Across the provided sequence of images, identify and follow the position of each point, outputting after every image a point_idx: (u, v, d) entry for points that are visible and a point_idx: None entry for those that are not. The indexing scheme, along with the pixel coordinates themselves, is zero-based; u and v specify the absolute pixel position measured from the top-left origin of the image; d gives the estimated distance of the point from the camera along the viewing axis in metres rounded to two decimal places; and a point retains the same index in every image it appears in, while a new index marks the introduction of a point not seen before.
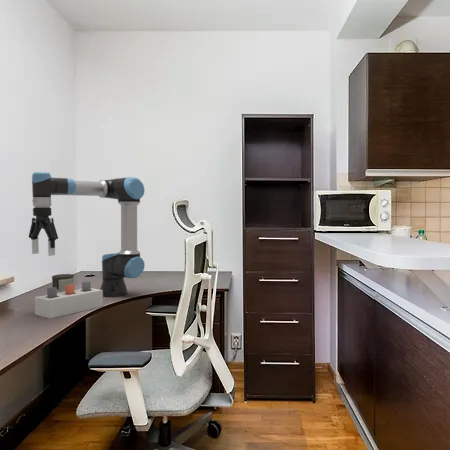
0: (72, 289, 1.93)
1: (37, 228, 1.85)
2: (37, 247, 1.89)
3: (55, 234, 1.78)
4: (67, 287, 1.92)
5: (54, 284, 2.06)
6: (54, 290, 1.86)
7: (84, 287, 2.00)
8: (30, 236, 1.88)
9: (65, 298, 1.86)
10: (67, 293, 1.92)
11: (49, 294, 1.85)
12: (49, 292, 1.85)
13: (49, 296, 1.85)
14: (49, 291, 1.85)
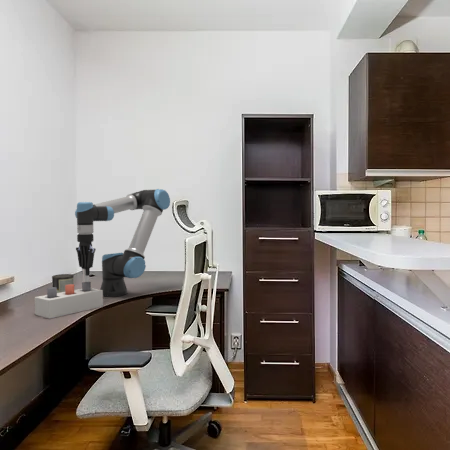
0: (72, 289, 1.93)
1: (83, 254, 2.01)
2: None
3: (91, 264, 1.99)
4: (67, 287, 1.92)
5: (54, 284, 2.06)
6: (54, 290, 1.86)
7: (84, 287, 2.00)
8: (80, 264, 2.02)
9: (65, 298, 1.86)
10: (67, 293, 1.92)
11: (49, 294, 1.85)
12: (49, 292, 1.85)
13: (49, 296, 1.85)
14: (49, 291, 1.85)
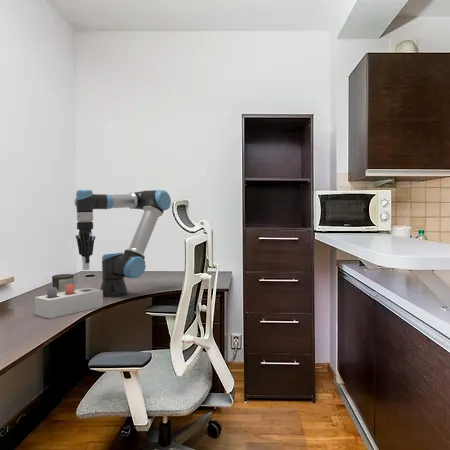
0: (72, 289, 1.93)
1: (83, 242, 2.00)
2: None
3: (91, 251, 1.99)
4: (67, 287, 1.92)
5: (54, 284, 2.06)
6: (54, 290, 1.86)
7: None
8: (80, 252, 2.02)
9: (65, 298, 1.86)
10: (67, 293, 1.92)
11: (49, 294, 1.85)
12: (49, 292, 1.85)
13: (49, 296, 1.85)
14: (49, 291, 1.85)
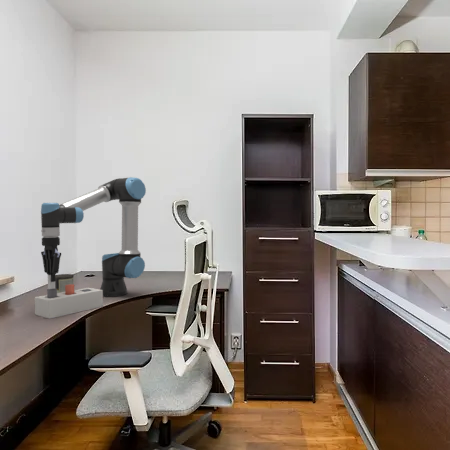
0: (72, 289, 1.93)
1: (48, 259, 1.86)
2: None
3: (57, 269, 1.85)
4: (67, 287, 1.92)
5: None
6: (54, 291, 1.86)
7: None
8: (46, 270, 1.87)
9: (65, 298, 1.86)
10: (67, 293, 1.92)
11: (49, 295, 1.85)
12: (49, 293, 1.85)
13: (49, 297, 1.85)
14: (49, 292, 1.85)
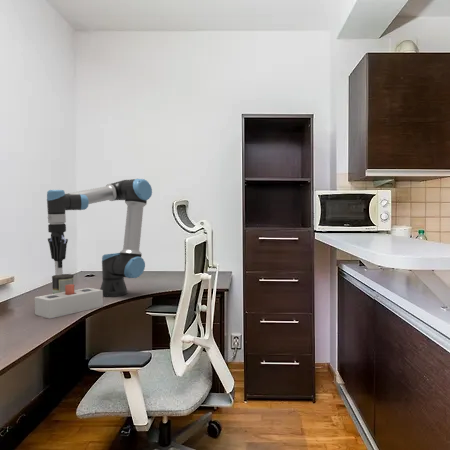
0: (72, 289, 1.93)
1: (55, 245, 1.89)
2: None
3: (64, 255, 1.87)
4: (67, 287, 1.92)
5: (54, 284, 2.06)
6: None
7: None
8: (53, 256, 1.90)
9: (65, 298, 1.86)
10: (67, 293, 1.92)
11: None
12: None
13: None
14: None
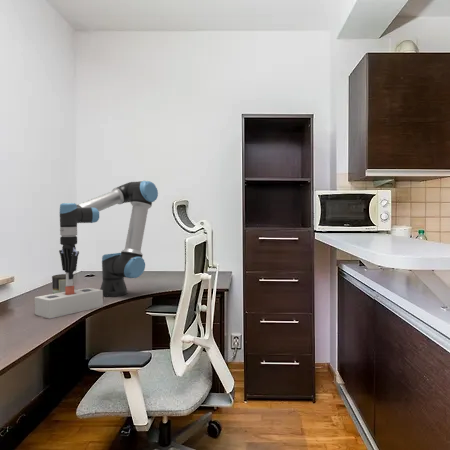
0: (72, 290, 1.93)
1: (66, 257, 1.93)
2: None
3: (74, 267, 1.92)
4: (67, 288, 1.92)
5: (54, 284, 2.06)
6: None
7: None
8: (64, 268, 1.95)
9: (65, 298, 1.86)
10: (67, 294, 1.92)
11: None
12: None
13: None
14: None
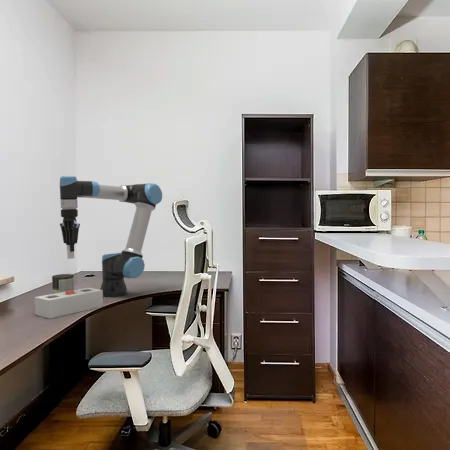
0: None
1: (67, 230, 1.95)
2: None
3: (76, 239, 1.93)
4: (67, 293, 1.92)
5: (54, 284, 2.06)
6: None
7: None
8: (65, 241, 1.96)
9: (65, 298, 1.86)
10: None
11: None
12: None
13: None
14: None
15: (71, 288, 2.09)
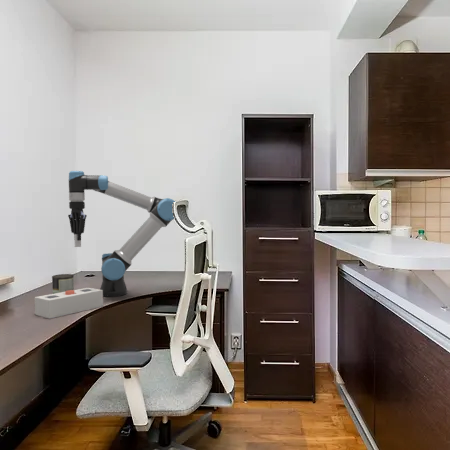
0: None
1: (75, 220, 2.12)
2: None
3: (82, 229, 2.11)
4: (67, 293, 1.92)
5: (54, 284, 2.06)
6: None
7: None
8: None
9: (65, 298, 1.86)
10: None
11: None
12: None
13: None
14: None
15: (71, 288, 2.09)
